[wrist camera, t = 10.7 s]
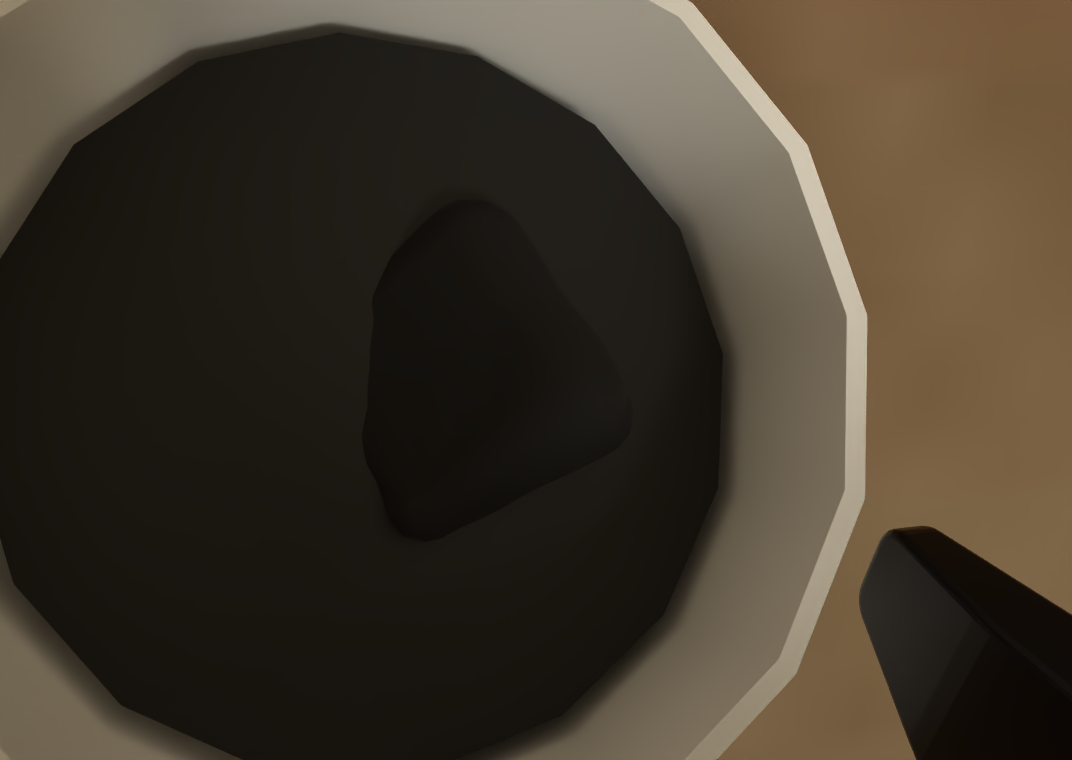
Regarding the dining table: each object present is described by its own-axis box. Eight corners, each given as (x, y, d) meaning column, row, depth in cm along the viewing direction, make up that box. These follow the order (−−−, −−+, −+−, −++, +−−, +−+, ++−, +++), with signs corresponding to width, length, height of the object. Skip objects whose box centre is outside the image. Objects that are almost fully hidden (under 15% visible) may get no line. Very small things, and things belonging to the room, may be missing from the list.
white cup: (410, 182, 17) (581, -259, 7) (606, 534, 17) (1033, 547, 7) (17, 371, 15) (-434, 108, 6) (236, 764, 15) (164, 1181, 6)
